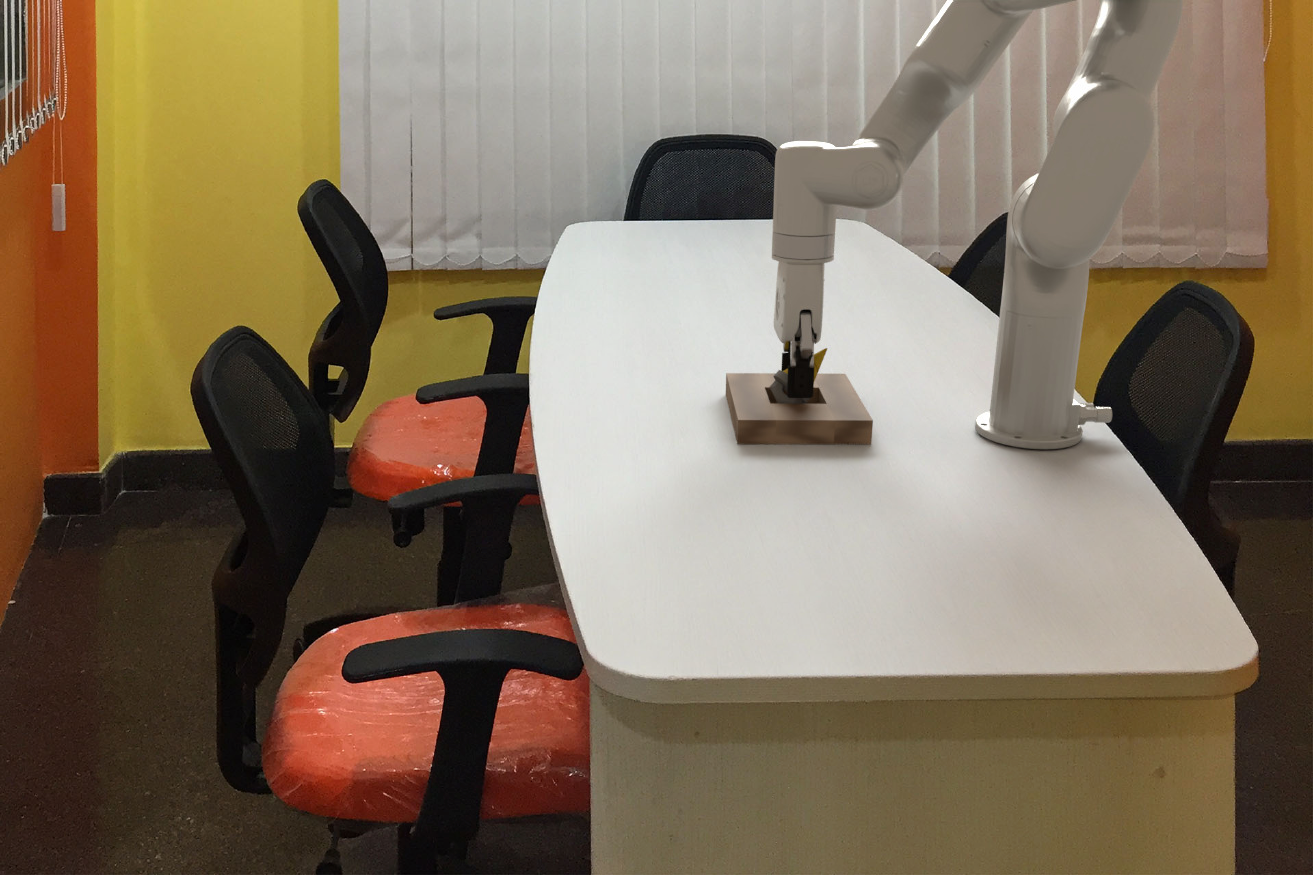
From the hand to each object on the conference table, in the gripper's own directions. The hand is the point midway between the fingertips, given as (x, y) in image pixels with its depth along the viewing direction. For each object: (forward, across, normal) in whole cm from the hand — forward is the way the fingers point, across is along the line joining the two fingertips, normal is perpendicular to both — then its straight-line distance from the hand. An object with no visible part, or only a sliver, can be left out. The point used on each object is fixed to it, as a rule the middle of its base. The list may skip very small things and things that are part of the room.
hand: (796, 388), depth 151 cm
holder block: (+4, 0, 0) cm, 4 cm away
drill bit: (+2, -1, 0) cm, 2 cm away
